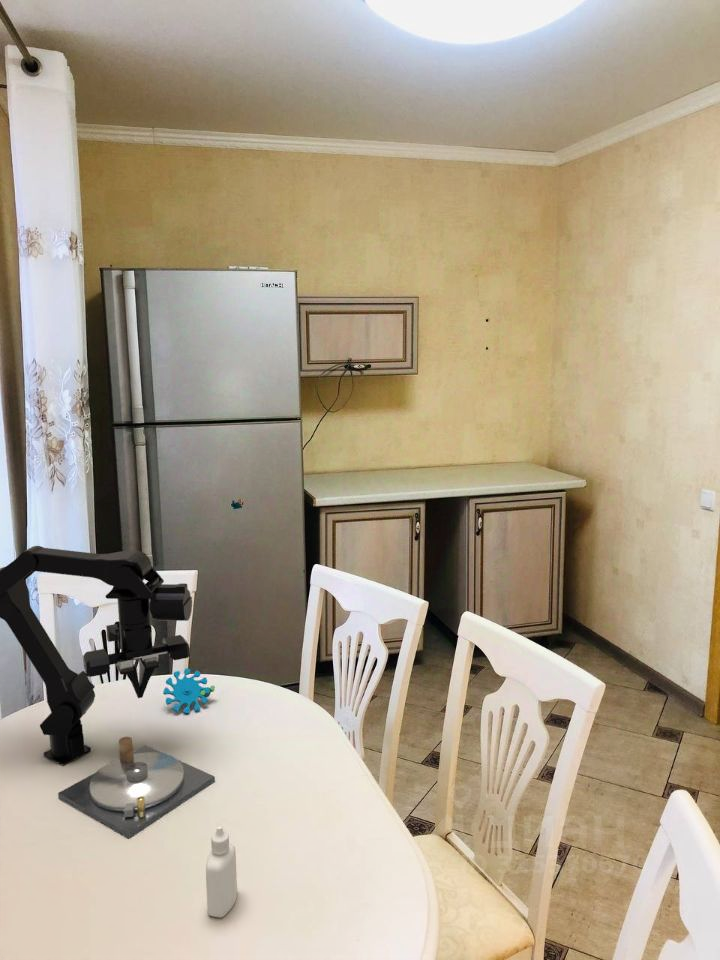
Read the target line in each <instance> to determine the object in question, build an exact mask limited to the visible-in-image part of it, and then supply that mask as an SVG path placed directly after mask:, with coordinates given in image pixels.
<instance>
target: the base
mask: <svg viewBox="0 0 720 960" xmlns="http://www.w3.org/2000/svg"><path fill="white" fill-rule="evenodd" d="M147 752H154V753H163V754H165V753H164V752H162V751H160V750H158V749H156V748H153V747H151V746H150V745H146V744H144V745H143V746H141V747H139V748H137V749H136V750H133V754H137V753H147ZM176 759H177V760H179V761H180V763H181V764H182V766H183V769H184V780H183V783H182V785H181V787H180V788H179V790H178V791H177V792H176V793H175V794H173V795H172V796H171V797H169V798H168V799H166V800H164V801H163V802H161V803H158V804H156V805H154V806H151V807H147V808H145V800H144V797H142V796H141V797H138V798H137V810H135V812H134V816H132V817H125V816H124V811H114V810H109V809H105V808H102V807H100V806H98V805H97V804H96V803H95V802H94V801H93V800H92V798H91V796H90V781H91V779H92V777H93V776H94V774H95V773H96V772H94V773H92V774H91V775H88V776H86V777H85V778H83V779H81V780H79V781H77V782H76V783H74V784H72V785H70V786H69V787H67V788H65V789H63V790H61V791H60V792H57V796H58V799H59V800H61V801H63V802H64V803H65V804H68V805H70V806H71V807H73V808H75V809H76V810H77V811H80V812H81V813H83V814H85V815H87V816H88V817H90V818H91V819H94V820H95V821H97V822H99V823H101V824H103V825H104V826H105V827H108V828H109V829H111V830H113V831H114V832H116V833H118V834H120V835H121V836H123V837H125V838H127V839H130V838H131V837H134V836H135V835H136V834H138V833H139V832H141V831H142V830H144V829H145V828H147V827H149V826H150V825H151V824H153V823H154V822H156V821H157V820H159V819H161V818H162V817H164V816H165V815H167V814H169V813H170V812H171V811H172V810H174V809H175V808H178V807H179V806H180V805H182V804H183V803H185V802H187V801H188V800H189V799H191V798H192V797H194V796H195V795H196V794H199V792H201V791H202V790H204V789H206V788H207V787H209V786H210V785H212V784H213V783H215V781H216V779H215V777H216V776H214V775H213V774H211V773H208V772H206V771H203V770H202V769H199V768H197V767H195V766H193V765H191V764H188V763H187V762H185V761H181V760H180V759H178V758H176Z"/></svg>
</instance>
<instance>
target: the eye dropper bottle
mask: <svg viewBox="0 0 720 960" xmlns="http://www.w3.org/2000/svg"><path fill="white" fill-rule="evenodd" d="M210 842H211V844H210V845H211V850H210V852H209V855H208V856H207V860H206V864H205V880H206V881H205V882H206V883H205V885H206V886H205V887H206V907H207V908H206V909H207V914H208V916H210V917H215V918H223V917H224V916H226V915H227V914H228V913H229V912H230V911H231V910H232V909H233V907H234V905H235V903H236V901H237V898H238V897H237V896H238V880H237V878H238V877H237V876H238V875H237V855H236V851H237V850H236V846H235V845H234V844H232V843H230V835H229V833H228V832H226V831H224V829H223V826H221V825H218V826H217V827H216V832H214V833H213V834H212V835H211V836H210Z"/></svg>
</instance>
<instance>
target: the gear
mask: <svg viewBox="0 0 720 960" xmlns="http://www.w3.org/2000/svg"><path fill="white" fill-rule="evenodd" d="M183 671H184V672H183V674H184V675H183V677H182V678H179V677H180V675H181V671H179V670H177V671H174V672H173V677H174V678H175V679H176V683H174V682H173V678H172V677H168V678H167V679H166V680H165V683H166V685H168V686H170V687H171V688H172V691H170V689H169V688H168V687H164V689H163V692H162V694H163V695H165V696H166V695H171V696H173V697H174V698H171V697H166V698H165V703H166V705H167V706H169V705H171V704H172V703H175V702H178V704H174V705H173V707H172V710H173V711H174V712H175V713H178V712H179V711H180V710H179V709H180V708H181V707H183V706H184V705H186V707H185V708H183V711H182V712H183V714H185V715H189V714H190V710H191V709H190V706H191V704H193V703H194V704H195V705H194V707H193V711H194V712H198V711H200V710H201V706H200V704H199V702H198V698H200V699H201V704H203V705H204V704H206V703H208V701H209V699H208V698H209V697H210V696H211V693H214V692H215V688H216V687H215V685H210V686H207V687H204V686H202V685H200V684H203V685H207V683H208V678H207V677H202V679H200V680H196V679H195V678H200V676H201V672H200V671H199V670H195V672H194V674H193V675H192V676H190V677H187V676H188V675H190V674H191V668H190V669H189V668H188V667H187V668H184V670H183Z"/></svg>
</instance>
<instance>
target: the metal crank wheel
mask: <svg viewBox="0 0 720 960" xmlns="http://www.w3.org/2000/svg"><path fill="white" fill-rule="evenodd" d="M118 748H119V749H118V750H119V751H118V752H119V758H116V759H114V760H112V761H110V762H108V763H106V764H105V765H103V766H102V767H100V768H99V769H98V770H97V771H95V772H94V773H95V774H94V773H93V774H94V776H93V777H92V779H91V781H90V796H91V798H92V800H93V801H94V802H95V803H96V804H97V805H98V806H100V807H102V808H105V809H109V810H114V811H124V816H125V817H132V816H134V812H135V810H137V798H138V797H141V796H142V797H144V800H145V808H147V807H151V806H154V805H156V804H158V803H161V802H163V801H164V800H166V799H168V798H169V797H171V796H172V795H173V794H175V793H176V792H177V791H178V790H179V788H180V787H181V785H182V783H183V780H184V769H183V766H182V764H181V763H180V761H181V760H180V759H178V758H176V757H174V756H172V755H170V754H167V753H164V752H162V753H154V752H147V753H137V754H133V752H134V744H133V738H132V737H130V736H123V737H121V738H120V739H119V740H118ZM163 753H164V754H163ZM177 759H178V760H177ZM179 760H180V761H179Z"/></svg>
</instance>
